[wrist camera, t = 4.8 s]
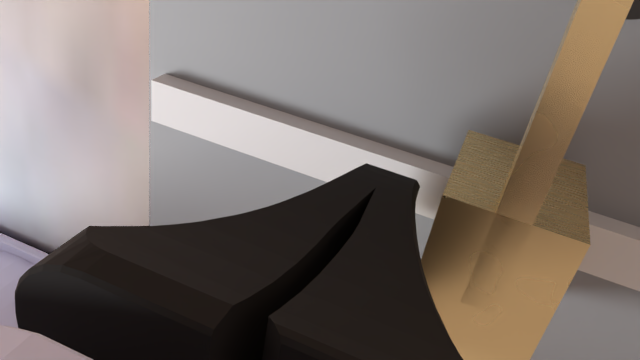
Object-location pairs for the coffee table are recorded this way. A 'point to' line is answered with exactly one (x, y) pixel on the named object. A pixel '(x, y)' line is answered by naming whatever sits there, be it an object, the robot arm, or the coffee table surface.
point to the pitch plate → (391, 121)
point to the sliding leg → (520, 208)
